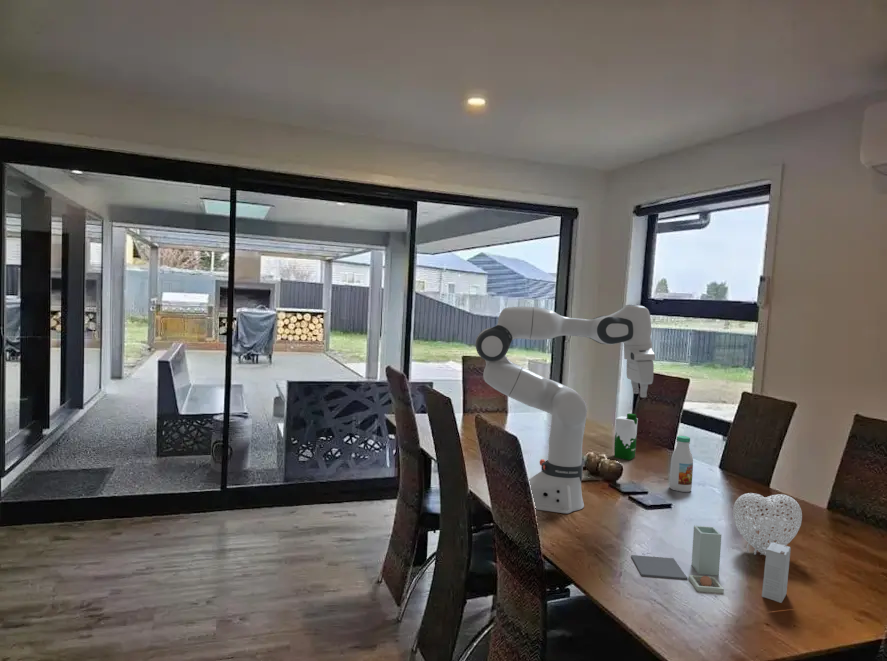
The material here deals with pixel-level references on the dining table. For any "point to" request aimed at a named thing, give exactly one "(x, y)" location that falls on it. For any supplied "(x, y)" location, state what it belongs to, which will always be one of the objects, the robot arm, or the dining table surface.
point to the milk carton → (625, 437)
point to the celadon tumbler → (706, 550)
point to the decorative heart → (766, 520)
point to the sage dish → (706, 588)
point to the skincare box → (776, 572)
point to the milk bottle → (681, 466)
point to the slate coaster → (658, 567)
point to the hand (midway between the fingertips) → (639, 395)
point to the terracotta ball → (705, 581)
